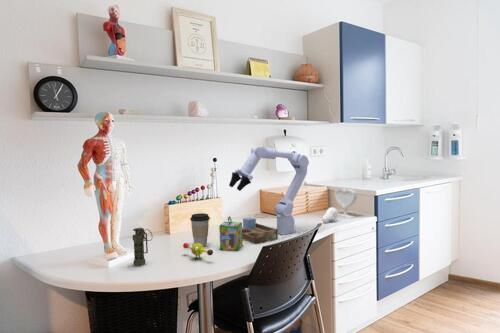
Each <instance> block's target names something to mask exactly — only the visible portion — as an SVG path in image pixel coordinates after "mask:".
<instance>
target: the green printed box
mask: <svg viewBox="0 0 500 333" xmlns="http://www.w3.org/2000/svg"><path fill="white" fill-rule="evenodd" d="M242 227H243V221H241V222H239V221H232V218H231V215H229V216H228V217H227V221H224V222H222V223H220V224H219V227H218V228H219V229H218V230H219V250H220V251H240V249H241V248H242V246H243V239H242Z"/></svg>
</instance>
